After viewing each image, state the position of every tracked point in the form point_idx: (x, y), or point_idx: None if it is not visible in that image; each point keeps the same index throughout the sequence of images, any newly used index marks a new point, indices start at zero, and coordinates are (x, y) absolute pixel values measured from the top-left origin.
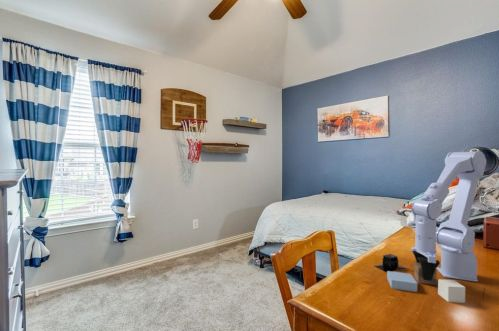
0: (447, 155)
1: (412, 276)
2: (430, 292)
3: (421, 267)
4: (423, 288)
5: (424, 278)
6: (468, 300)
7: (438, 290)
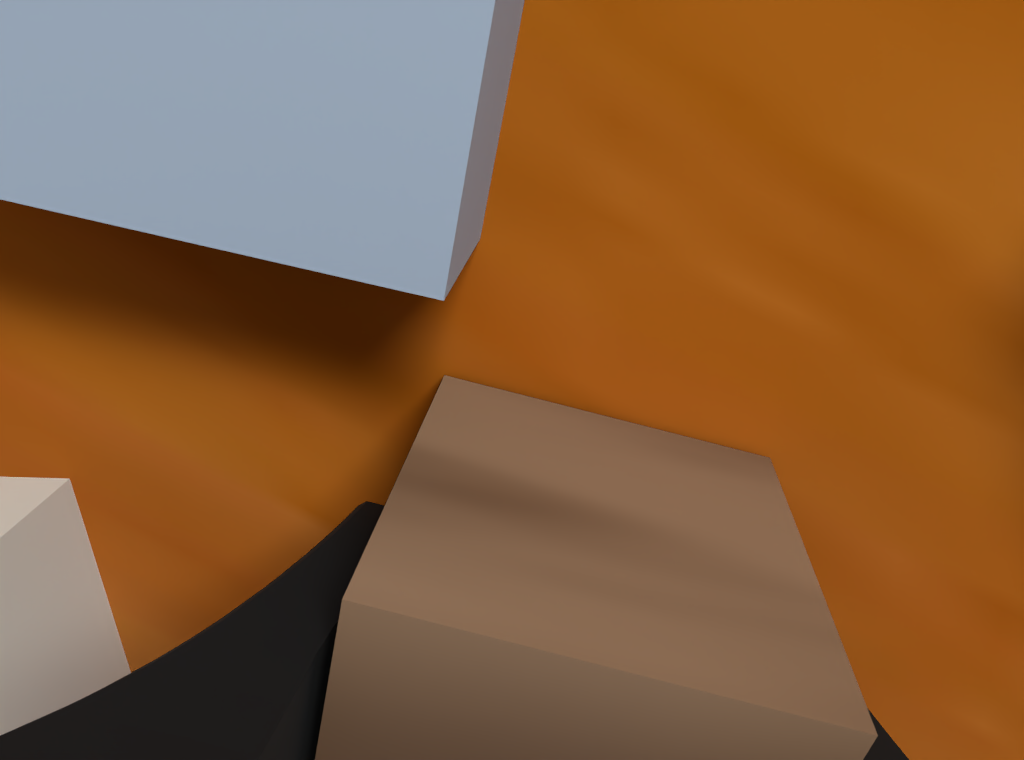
0: None
1: (263, 256)
2: (74, 383)
3: (276, 675)
4: (208, 345)
5: (344, 522)
6: None
7: (15, 516)
